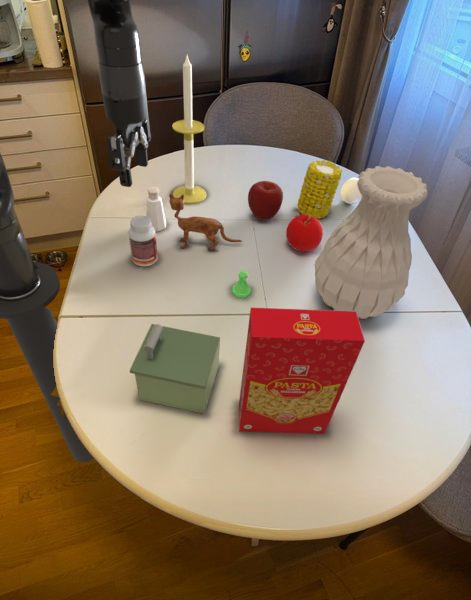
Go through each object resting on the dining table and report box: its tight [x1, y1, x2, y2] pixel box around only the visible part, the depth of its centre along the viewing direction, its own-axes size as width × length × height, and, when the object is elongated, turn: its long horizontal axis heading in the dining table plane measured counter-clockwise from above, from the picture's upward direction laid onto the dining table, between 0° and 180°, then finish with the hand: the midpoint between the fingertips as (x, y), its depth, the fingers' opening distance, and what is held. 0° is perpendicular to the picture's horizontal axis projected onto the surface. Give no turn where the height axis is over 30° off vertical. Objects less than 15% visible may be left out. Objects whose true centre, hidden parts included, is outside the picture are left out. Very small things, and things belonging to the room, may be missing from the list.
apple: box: [247, 180, 284, 221], centre depth 115 cm, size 10×10×10 cm
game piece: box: [232, 270, 251, 299], centre depth 94 cm, size 4×4×6 cm
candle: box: [171, 55, 208, 205], centre depth 111 cm, size 10×10×38 cm
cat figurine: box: [169, 193, 243, 251], centre depth 103 cm, size 18×7×14 cm, turn 92°
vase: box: [314, 165, 429, 320], centre depth 85 cm, size 20×20×30 cm
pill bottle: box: [127, 215, 159, 267], centre depth 98 cm, size 6×6×11 cm
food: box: [296, 159, 343, 220], centre depth 117 cm, size 15×12×10 cm
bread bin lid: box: [129, 323, 221, 389], centre depth 70 cm, size 13×11×4 cm
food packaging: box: [238, 306, 366, 435], centre depth 64 cm, size 15×5×25 cm, turn 90°
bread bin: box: [134, 341, 221, 415], centre depth 75 cm, size 12×11×8 cm
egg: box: [340, 177, 362, 205], centre depth 124 cm, size 6×6×8 cm
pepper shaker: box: [146, 186, 167, 233], centre depth 108 cm, size 5×5×11 cm
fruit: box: [285, 213, 324, 252], centre depth 106 cm, size 9×9×10 cm
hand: (134, 175), depth 84 cm, fingers open, 8 cm apart
